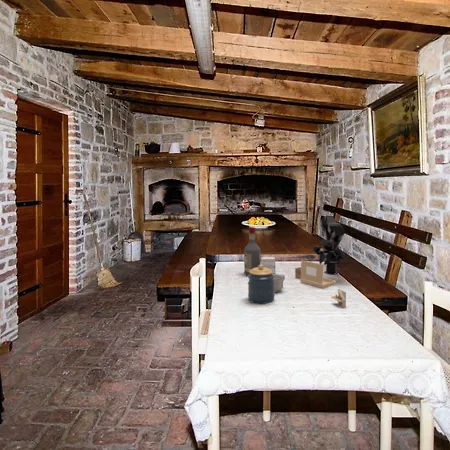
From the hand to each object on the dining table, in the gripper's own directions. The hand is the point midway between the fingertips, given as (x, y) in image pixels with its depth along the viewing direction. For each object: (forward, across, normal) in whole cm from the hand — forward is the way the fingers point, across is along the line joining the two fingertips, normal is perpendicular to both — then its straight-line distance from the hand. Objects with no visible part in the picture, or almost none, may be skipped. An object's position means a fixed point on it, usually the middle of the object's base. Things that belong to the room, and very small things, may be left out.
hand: (322, 264), depth 194 cm
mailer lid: (+8, 0, -4) cm, 9 cm away
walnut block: (+9, -14, +6) cm, 18 cm away
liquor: (+21, -39, -6) cm, 45 cm away
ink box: (+18, -29, -3) cm, 34 cm away
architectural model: (+25, +29, -9) cm, 40 cm away
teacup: (+29, -7, -14) cm, 33 cm away
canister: (+40, -1, -25) cm, 48 cm away
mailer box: (+10, 0, +5) cm, 11 cm away
